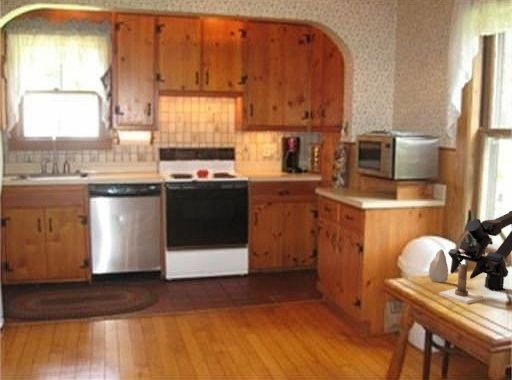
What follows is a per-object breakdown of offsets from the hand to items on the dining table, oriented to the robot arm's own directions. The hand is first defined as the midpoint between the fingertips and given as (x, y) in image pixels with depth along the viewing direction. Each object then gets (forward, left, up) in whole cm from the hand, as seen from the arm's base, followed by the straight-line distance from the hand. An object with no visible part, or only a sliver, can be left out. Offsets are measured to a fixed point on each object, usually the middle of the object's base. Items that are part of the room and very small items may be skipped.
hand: (460, 275), depth 222 cm
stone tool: (0, -23, -10) cm, 25 cm away
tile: (-1, -1, -9) cm, 10 cm away
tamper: (-1, -1, -8) cm, 8 cm away
